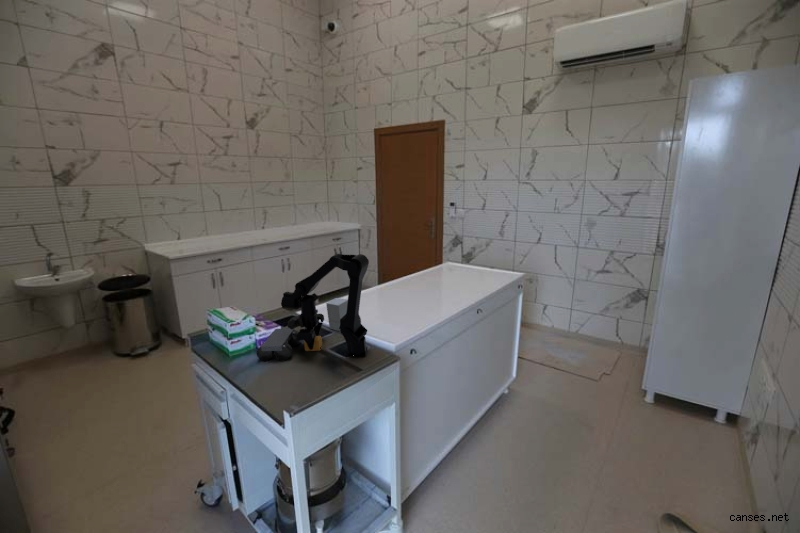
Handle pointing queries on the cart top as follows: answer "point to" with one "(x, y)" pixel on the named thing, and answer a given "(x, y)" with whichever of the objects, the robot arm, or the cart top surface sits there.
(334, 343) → the cart top surface
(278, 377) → the cart top surface
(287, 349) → the trolley
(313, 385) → the cart top surface
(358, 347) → the robot arm
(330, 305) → the supplement box
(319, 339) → the block
